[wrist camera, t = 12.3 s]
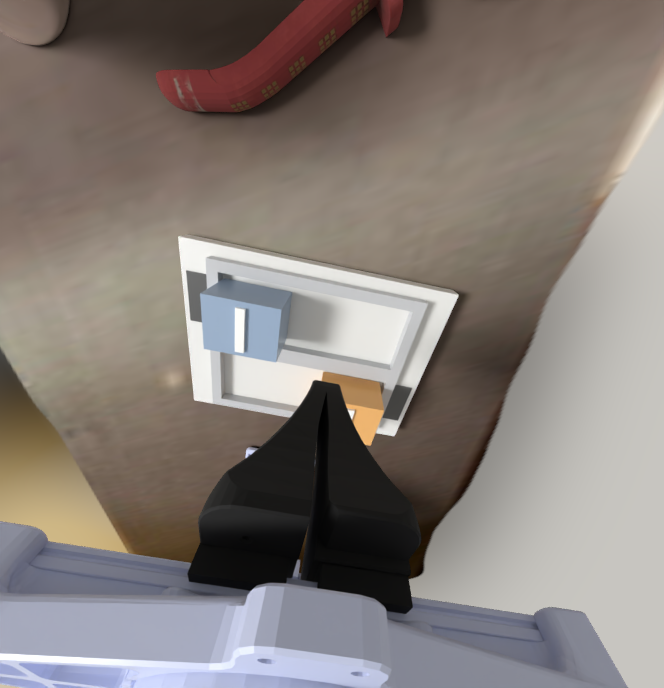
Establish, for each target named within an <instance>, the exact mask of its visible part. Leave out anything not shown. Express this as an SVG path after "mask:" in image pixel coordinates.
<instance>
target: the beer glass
mask: <svg viewBox="0 0 664 688" xmlns="http://www.w3.org/2000/svg"><path fill="white" fill-rule="evenodd" d="M68 11H69V0H0V32H1V33H2V34H4V35H6V36H8V37H10V38H12V39H14V40H16V41H18V42H21V43H24V44H29V45H45V44H48V43H50V42H52V41H53V40H55V39H56V38H57V37H58V36H59V35H60V33H61V32H62V30H63V28H64V26H65V24H66V21H67V17H68Z"/></svg>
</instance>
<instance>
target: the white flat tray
mask: <svg viewBox="0 0 664 688" xmlns="http://www.w3.org/2000/svg"><path fill="white" fill-rule="evenodd" d="M178 239H179V250H180V260H181V270H182V280H183V290H184V300H185V311H186V321H187V331H188V341H189V351H190V362H191V372H192V382H193V392H194V400H196V401H202V402H208V403H213V404H219V405H224V406H230V407H235V408H241V409H246V410H252V411H257V412H263V413H268V414H274V415H279V416H285V417H291V416H292V415H293V413H294V412H295V411H296V410H297V408H298V407H299V406H300V404H301V403H302V401H303V400H304V398H305V397H306V395H307V393H308V391H309V389H310V387H311V385H312V382H313V381H314V380H319V381H321V380H322V375H323V372H328V373H333V374H339V375H344V376H349V377H354V378H360V379H365V380H370V381H375V382H379V383H380V389H381V395H382V401H383V406H384V413H383V415H382V418H381V420H380V423H379V425H378V428H377V430H376V433H379V434H384V435H390V436H395V434H396V432H397V430H398V427H399V425H400V423H401V421H402V419H403V416H404V414H405V412H406V410H407V408H408V405H409V403H410V401H411V399H412V397H413V395H414V392H415V390H416V388H417V386H418V384H419V381H420V379H421V377H422V375H423V373H424V370H425V368H426V366H427V364H428V362H429V359H430V357H431V355H432V353H433V351H434V349H435V346H436V344H437V342H438V340H439V338H440V335H441V333H442V331H443V329H444V327H445V324H446V322H447V320H448V318H449V316H450V314H451V311H452V309H453V307H454V305H455V303H456V300H457V298H458V296H459V295H458V294H457V293H456V292H455V291H453V290H450V289H446V288H441V287H436V286H431V285H427V284H422V283H417V282H412V281H408V280H403V279H398V278H393V277H388V276H384V275H379V274H374V273H369V272H365V271H360V270H355V269H350V268H346V267H341V266H336V265H331V264H327V263H322V262H317V261H312V260H308V259H303V258H298V257H293V256H289V255H284V254H279V253H274V252H270V251H265V250H260V249H255V248H251V247H246V246H241V245H236V244H232V243H227V242H222V241H217V240H213V239H208V238H203V237H198V236H194V235H189V234H187V235H182V236H178ZM224 278H225V279H230V280H235V281H240V282H245V283H250V284H255V285H260V286H265V287H269V288H274V289H279V290H284V291H289V292H292V299H291V307H290V315H289V324H288V332H287V339H286V342H285V344H284V346H283V348H282V351H281V353H280V355H279V357H278V360H277V362H276V363H275V362H270V361H265V360H259V359H254V358H249V357H244V356H238V355H233V354H228V353H223V352H217V351H212V350H207V349H204V345H203V330H202V315H201V300H200V293H202V292H203V291H205V290H206V289H208V288H210V287H211V286H213V285H214V284H216V283H218V282H219V281H221V280H222V279H224Z"/></svg>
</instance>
